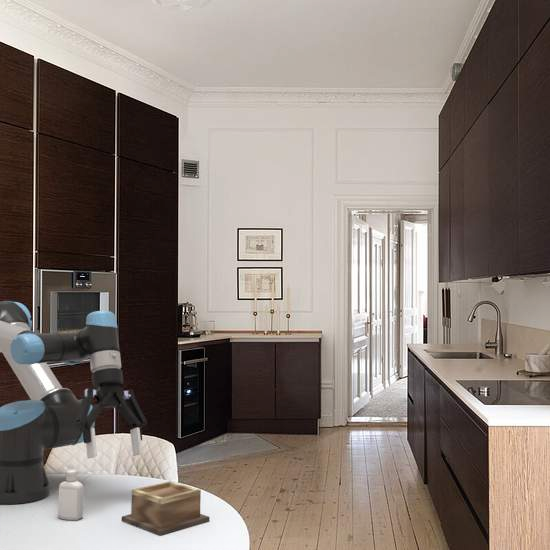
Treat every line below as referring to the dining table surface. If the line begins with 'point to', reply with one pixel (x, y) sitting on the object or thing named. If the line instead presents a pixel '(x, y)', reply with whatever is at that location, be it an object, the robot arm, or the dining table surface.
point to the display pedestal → (165, 508)
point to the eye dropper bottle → (70, 497)
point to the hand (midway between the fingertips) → (115, 456)
